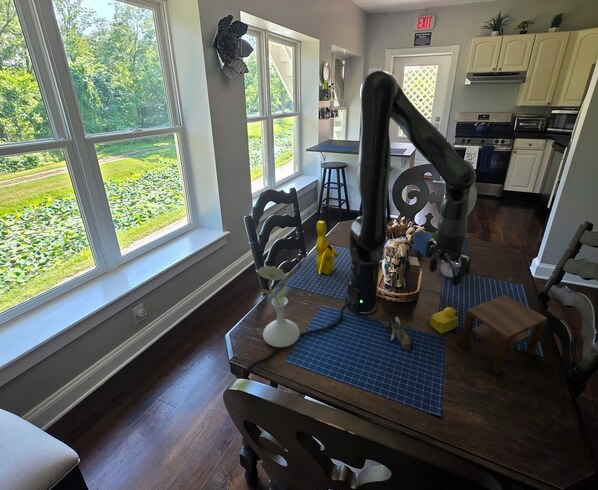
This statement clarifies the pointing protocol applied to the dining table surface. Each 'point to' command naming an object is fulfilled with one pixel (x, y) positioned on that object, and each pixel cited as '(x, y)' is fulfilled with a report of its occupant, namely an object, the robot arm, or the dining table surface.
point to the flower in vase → (278, 314)
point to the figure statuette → (324, 251)
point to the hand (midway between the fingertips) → (443, 277)
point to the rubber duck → (444, 320)
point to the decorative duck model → (446, 269)
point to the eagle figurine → (399, 333)
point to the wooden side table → (503, 327)
